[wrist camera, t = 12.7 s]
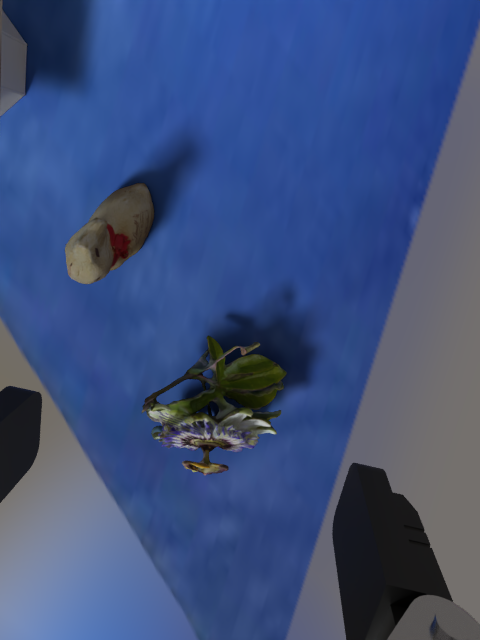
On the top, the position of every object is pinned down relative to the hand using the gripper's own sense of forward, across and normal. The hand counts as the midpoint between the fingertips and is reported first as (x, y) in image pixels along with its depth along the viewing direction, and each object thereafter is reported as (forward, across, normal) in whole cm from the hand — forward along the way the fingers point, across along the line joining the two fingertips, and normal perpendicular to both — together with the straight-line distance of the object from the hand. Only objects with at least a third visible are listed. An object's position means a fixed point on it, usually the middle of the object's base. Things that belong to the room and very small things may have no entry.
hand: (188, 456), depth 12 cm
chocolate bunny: (+30, +12, 0) cm, 33 cm away
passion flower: (+30, +1, +13) cm, 33 cm away
